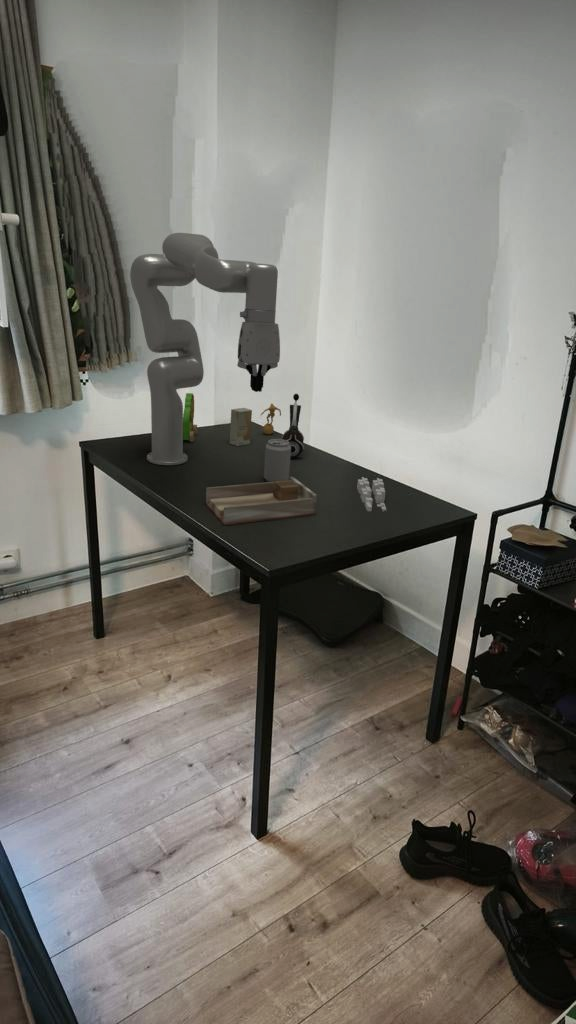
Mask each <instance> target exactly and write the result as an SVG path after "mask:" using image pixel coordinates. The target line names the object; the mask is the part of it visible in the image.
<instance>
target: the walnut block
mask: <svg viewBox="0 0 576 1024" xmlns="http://www.w3.org/2000/svg"><path fill="white" fill-rule="evenodd" d="M298 492H299V486H298V485H297V484H295V483H294V482H293V481H292V480H289V479H288V480H285V481H274V486H273V496H274V497H275V498H276V499H277V500H278V501H285V500H295V499H298Z"/></svg>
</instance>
